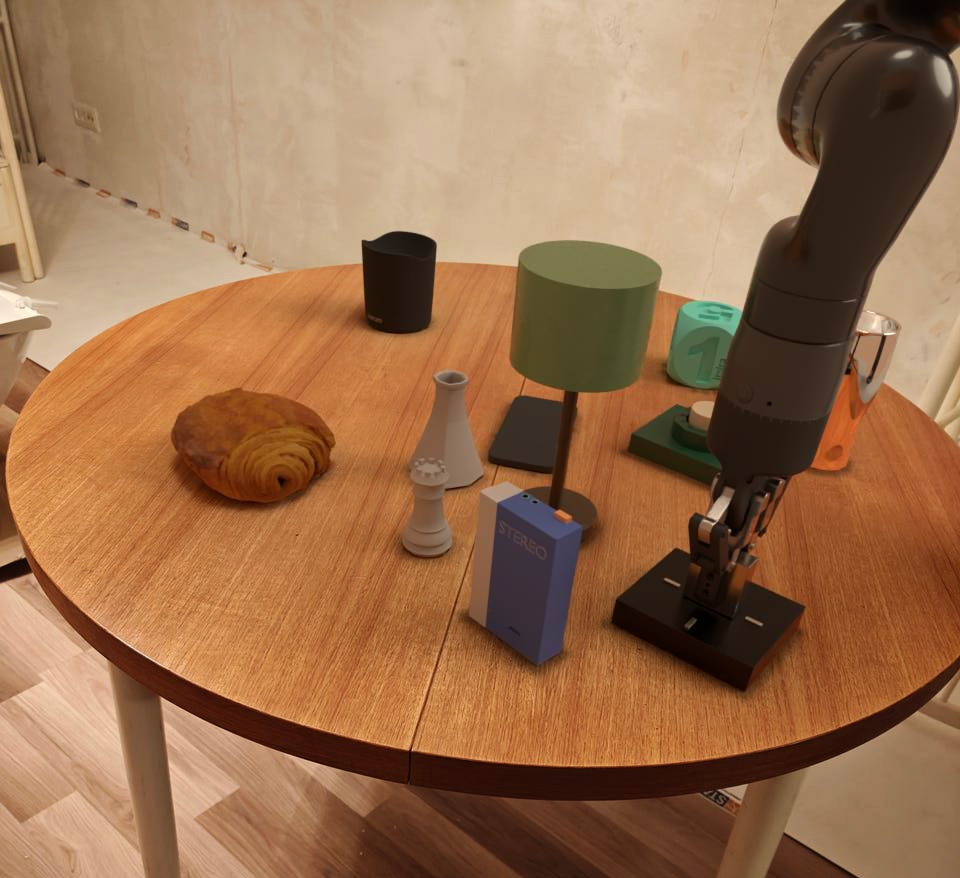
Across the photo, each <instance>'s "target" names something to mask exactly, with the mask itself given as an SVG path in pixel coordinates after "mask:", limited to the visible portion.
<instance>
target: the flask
mask: <svg viewBox="0 0 960 878" xmlns="http://www.w3.org/2000/svg"><path fill="white" fill-rule="evenodd" d="M432 381H433V382H434V384H435V389H434V391H435V393H434V400H433V404H432V408H431V411H430V415H429V416H428V419H427V422H426V424H425V426H424V429H423V432H422V434H421V435H420V438H419V439H418V440H419V441H418V442H417V444H416V447H415V449H414V450H413V453H412V455H411V457H410V460H409V462H408V464H407V466H408V467H409V469H410V470H411V471H412V470H413V469H414V468H415V463H416V462H418V463H419V459H422V458H424V459H425V463H429V458H435V463H436V464H438V461H439V460H441V461H442V462H444V465H445V470H446V471H447V473H448V474H449V478H448V480H447V481H446V482H445V483H444V484H443V487H444V489H445V490H446V489H452V488H453V489H454V488H460V487H466V486H470V485H472V484H473V483H474V482H475V481H477V480H478V479H480V477H482V476H483V475H485V471H484V467H483V464H482V461H481V458H480V455H479V452H478V449H477V447H476V443H475V441H474V436H473V433H472V429H471V426H470V422H469V419H468V415H467V407H466V387H467V386H468V385H469V383H470V378H469V377H468V376H467V375H466V374H465V373H464V372H461V371H458V370H455V369H447V370H439V371H438V372H436V373H434V374H432ZM411 471H410V472H411Z"/></svg>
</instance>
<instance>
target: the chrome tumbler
mask: <svg viewBox="0 0 960 878" xmlns="http://www.w3.org/2000/svg"><path fill="white" fill-rule="evenodd" d="M901 331H902V325H901V324H900V322H898V320H896V319H894V318H893V317H890V316H888V315H886V314H883V313H880V312H876V311H873V310H869V309H863V311H862V314H861V316H860V319H859V322H858V325H857V328H856V331H855V333H854V337H853V340H852V343H851V347H850V352H849V357H848V362H847V367H846V371H845V374H844V377H843V380H842V383H841V386H840V388H839V391H838V394H837V397H836V400H835V402H834V405H833V408H832V411H831V414H830V417H829V419H828V422H827V425H826V428H825V431H824V434H823V436H822V439H821V442H820V445H819V448H818V450H817V453H816V456H815V459H814V461H813V463H812V465H811V466H810V467H809V468H810V469H811V468H812V469H814V470H819V471H826V472H829V471H830V472H833V471H840V470H842V469H844V468H845V467H846V466H847V464H848V462H849V456H850V452H851V451H850V450H851V445H852V440H853V437H854V435H855V433H856V430H857V428H858V426H859V424H860V423H861V421H862V419H863V417H864V416H865V414H867V413H866V412H867V411H868V409H869V408H870V406H871V405H872V402H873V401H874V400H875V398H876V396H877V394H878V392H879V390H880V389H881V387H882V385H883V383H884V380H885V378H886V376H887V373H888V371H889V369H890V366H891V363H892V361H893V357H894V353H895V350H896V347H897V344H898V340H899V337H900V333H901Z"/></svg>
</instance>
